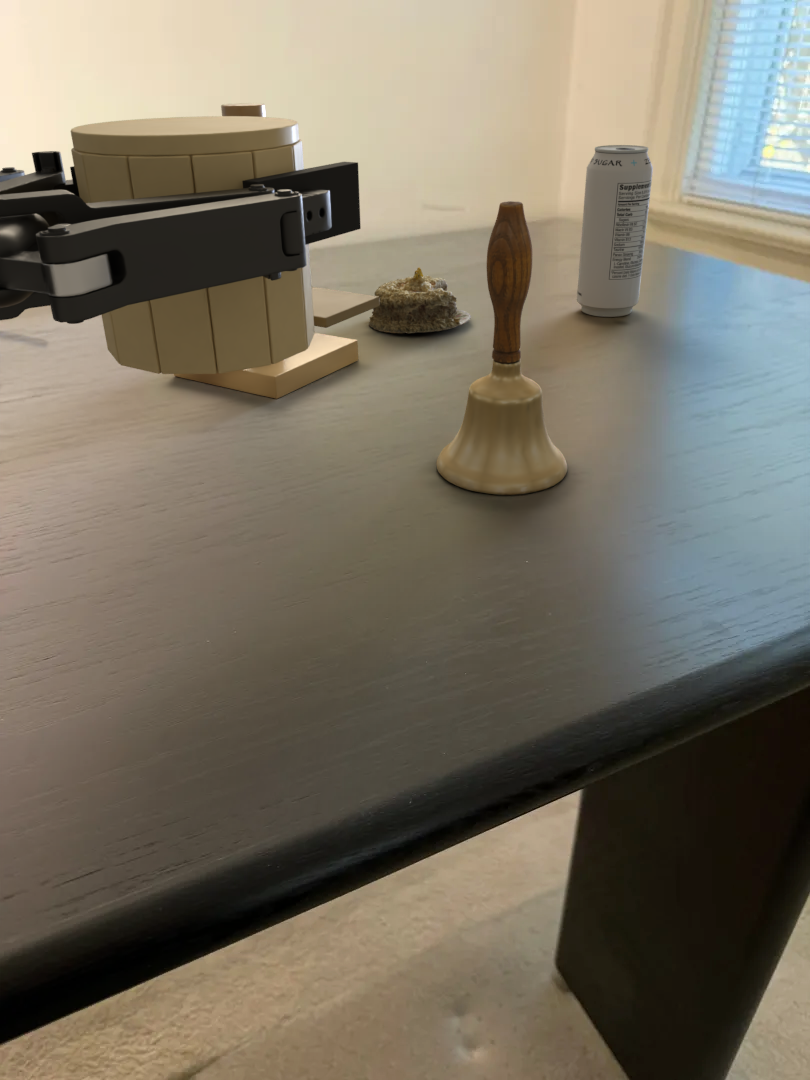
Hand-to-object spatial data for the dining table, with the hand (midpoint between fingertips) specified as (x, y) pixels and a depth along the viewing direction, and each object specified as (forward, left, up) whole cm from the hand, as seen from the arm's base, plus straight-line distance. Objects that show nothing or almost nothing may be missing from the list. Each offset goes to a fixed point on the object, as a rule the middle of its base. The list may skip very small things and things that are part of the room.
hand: (265, 188), depth 41 cm
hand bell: (+6, +13, -18) cm, 23 cm away
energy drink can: (-2, +52, -18) cm, 56 cm away
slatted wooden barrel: (0, -2, -6) cm, 6 cm away
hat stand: (-20, +21, -18) cm, 34 cm away
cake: (-16, +39, -18) cm, 46 cm away
